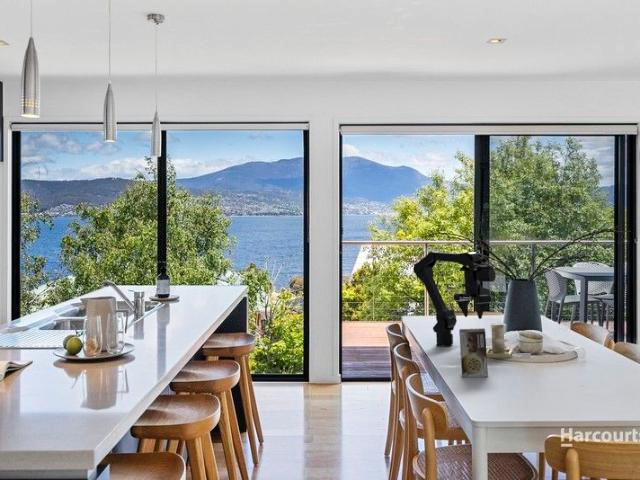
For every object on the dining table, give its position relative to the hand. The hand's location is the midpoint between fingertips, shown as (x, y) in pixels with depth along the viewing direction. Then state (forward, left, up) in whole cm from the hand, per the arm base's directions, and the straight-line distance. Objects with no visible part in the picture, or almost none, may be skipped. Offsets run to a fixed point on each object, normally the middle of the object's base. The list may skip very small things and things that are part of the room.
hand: (473, 317), depth 287 cm
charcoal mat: (+12, -12, -13) cm, 21 cm away
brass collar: (+12, -18, -12) cm, 25 cm away
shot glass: (+8, +22, -13) cm, 27 cm away
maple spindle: (+12, -18, -12) cm, 25 cm away
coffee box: (+7, -51, -13) cm, 53 cm away
